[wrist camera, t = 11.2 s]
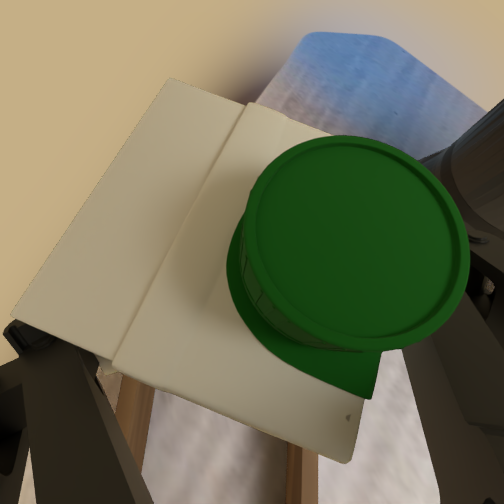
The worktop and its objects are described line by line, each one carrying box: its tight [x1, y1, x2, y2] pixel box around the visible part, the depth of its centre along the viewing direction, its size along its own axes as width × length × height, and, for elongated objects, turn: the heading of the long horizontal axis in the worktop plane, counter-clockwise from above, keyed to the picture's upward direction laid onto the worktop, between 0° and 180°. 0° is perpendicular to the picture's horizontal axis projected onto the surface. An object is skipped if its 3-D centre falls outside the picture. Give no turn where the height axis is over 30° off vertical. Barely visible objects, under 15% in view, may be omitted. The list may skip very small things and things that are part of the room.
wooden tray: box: [115, 374, 318, 504], centre depth 23 cm, size 15×17×6 cm
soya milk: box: [10, 78, 470, 464], centre depth 14 cm, size 9×9×20 cm
